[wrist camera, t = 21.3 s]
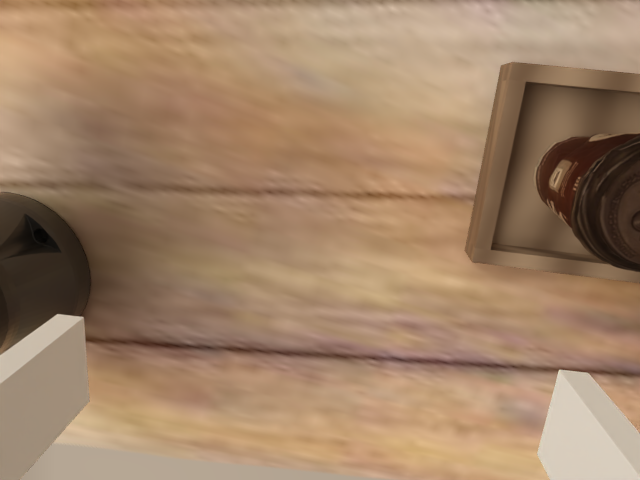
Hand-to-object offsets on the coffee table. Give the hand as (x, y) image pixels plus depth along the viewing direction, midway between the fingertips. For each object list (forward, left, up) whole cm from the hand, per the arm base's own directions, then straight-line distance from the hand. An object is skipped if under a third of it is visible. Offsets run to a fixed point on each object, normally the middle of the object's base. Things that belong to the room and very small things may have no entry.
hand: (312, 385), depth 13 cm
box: (+17, +4, -29) cm, 34 cm away
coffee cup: (+17, +4, -28) cm, 33 cm away
